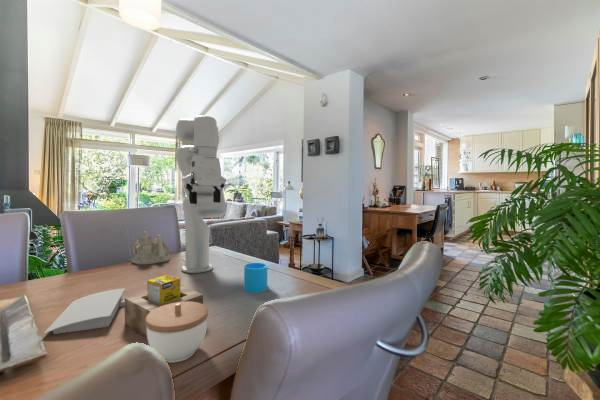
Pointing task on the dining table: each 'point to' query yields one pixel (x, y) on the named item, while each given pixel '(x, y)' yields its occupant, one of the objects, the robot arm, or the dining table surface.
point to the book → (89, 312)
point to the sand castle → (150, 250)
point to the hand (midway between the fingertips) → (205, 203)
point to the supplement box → (163, 289)
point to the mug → (255, 277)
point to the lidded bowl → (177, 329)
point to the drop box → (151, 307)
